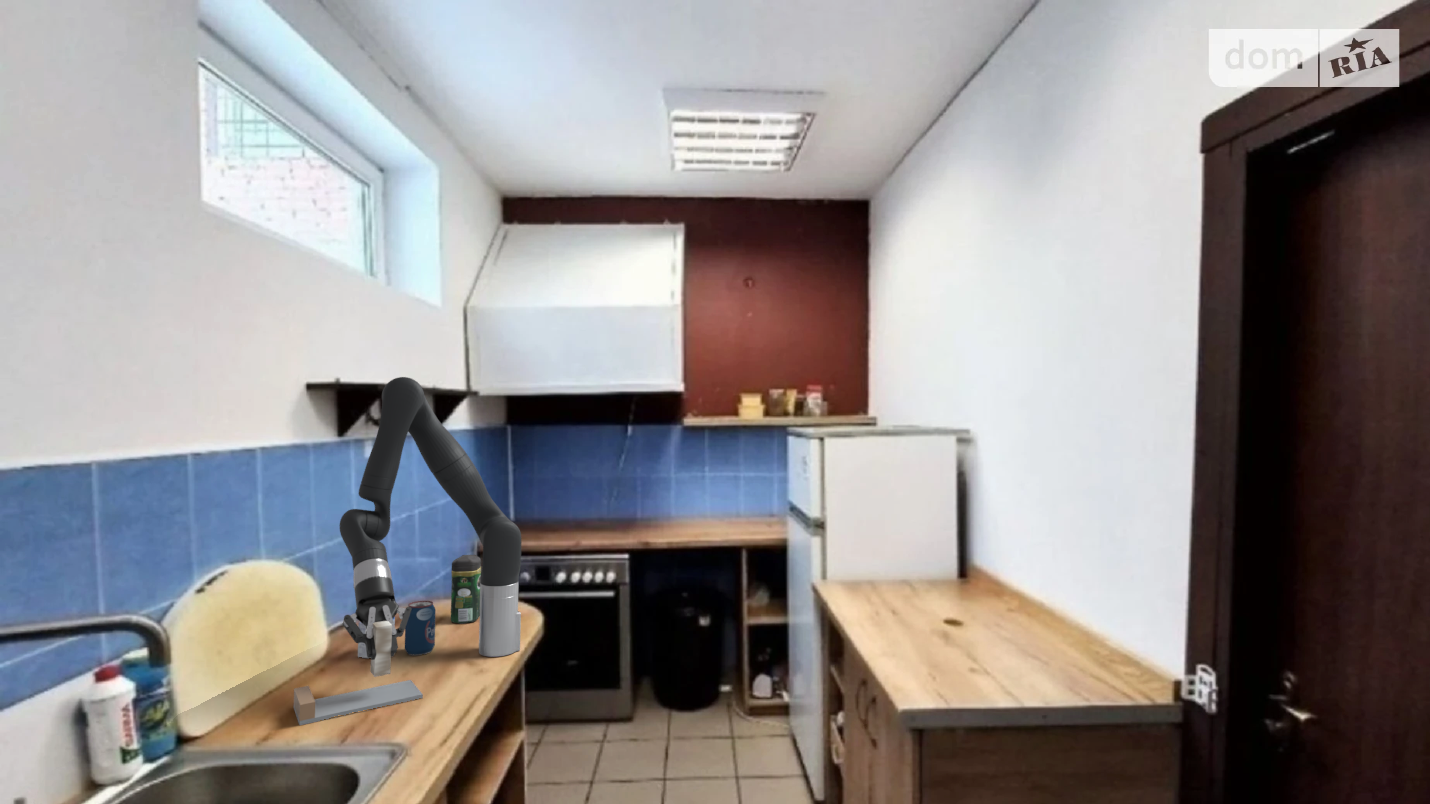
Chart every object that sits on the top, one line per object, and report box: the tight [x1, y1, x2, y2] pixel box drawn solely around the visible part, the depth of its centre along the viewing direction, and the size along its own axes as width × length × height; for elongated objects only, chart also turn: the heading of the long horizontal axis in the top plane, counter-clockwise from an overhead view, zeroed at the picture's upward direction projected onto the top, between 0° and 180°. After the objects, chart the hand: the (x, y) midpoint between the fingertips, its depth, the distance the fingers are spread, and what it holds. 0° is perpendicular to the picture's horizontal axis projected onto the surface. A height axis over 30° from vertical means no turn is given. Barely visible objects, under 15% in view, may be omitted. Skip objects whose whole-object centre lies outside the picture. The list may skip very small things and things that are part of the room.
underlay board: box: [293, 679, 424, 726], centre depth 139 cm, size 22×10×4 cm, turn 127°
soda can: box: [404, 600, 436, 656], centre depth 170 cm, size 7×7×12 cm
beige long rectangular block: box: [369, 621, 392, 678], centre depth 141 cm, size 3×4×10 cm
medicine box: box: [357, 616, 396, 659], centre depth 169 cm, size 8×4×9 cm, turn 168°
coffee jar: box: [450, 554, 482, 625], centre depth 199 cm, size 10×8×19 cm
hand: (383, 655), depth 140 cm, fingers closed on beige long rectangular block, 3 cm apart
